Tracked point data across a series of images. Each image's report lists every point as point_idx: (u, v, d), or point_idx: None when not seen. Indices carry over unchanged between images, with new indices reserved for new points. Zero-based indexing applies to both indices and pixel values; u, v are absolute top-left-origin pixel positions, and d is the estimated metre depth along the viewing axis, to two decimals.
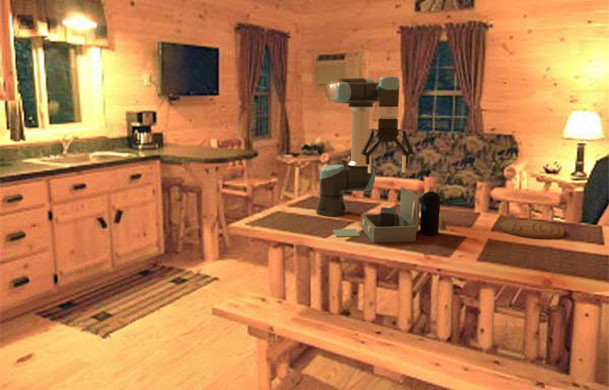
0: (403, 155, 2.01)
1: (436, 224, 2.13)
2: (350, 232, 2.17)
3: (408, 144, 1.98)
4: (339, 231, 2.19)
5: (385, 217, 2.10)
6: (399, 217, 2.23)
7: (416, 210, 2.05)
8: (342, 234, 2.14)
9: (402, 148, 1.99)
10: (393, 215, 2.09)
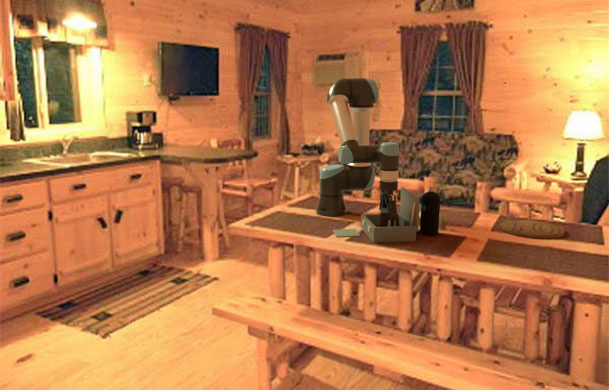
0: None
1: (436, 224, 2.13)
2: (350, 232, 2.17)
3: (390, 209, 2.06)
4: (339, 231, 2.19)
5: (385, 217, 2.10)
6: (399, 217, 2.23)
7: (416, 210, 2.05)
8: (342, 234, 2.14)
9: (388, 211, 2.09)
10: None
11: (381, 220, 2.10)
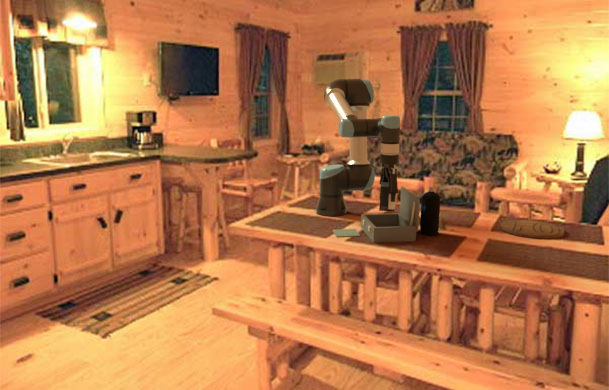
0: None
1: (436, 224, 2.13)
2: (350, 232, 2.17)
3: (391, 182, 2.04)
4: (339, 231, 2.19)
5: (386, 191, 2.08)
6: (399, 217, 2.23)
7: (416, 210, 2.05)
8: (342, 234, 2.14)
9: (389, 185, 2.07)
10: None
11: (382, 194, 2.08)
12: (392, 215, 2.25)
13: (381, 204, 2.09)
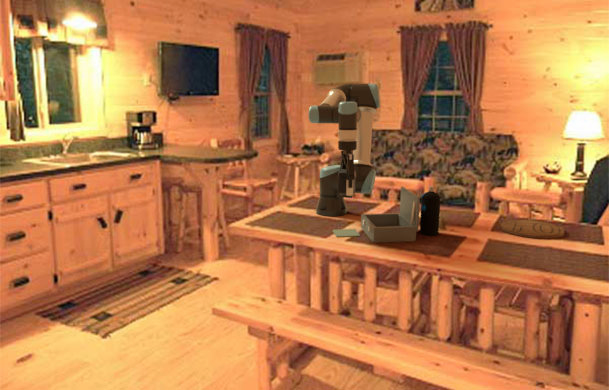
0: None
1: (436, 224, 2.13)
2: (350, 232, 2.17)
3: (347, 168, 2.04)
4: (339, 231, 2.19)
5: (344, 177, 2.07)
6: (399, 217, 2.23)
7: (416, 210, 2.05)
8: (342, 234, 2.14)
9: (346, 171, 2.06)
10: None
11: (339, 180, 2.08)
12: (392, 215, 2.25)
13: (339, 190, 2.09)
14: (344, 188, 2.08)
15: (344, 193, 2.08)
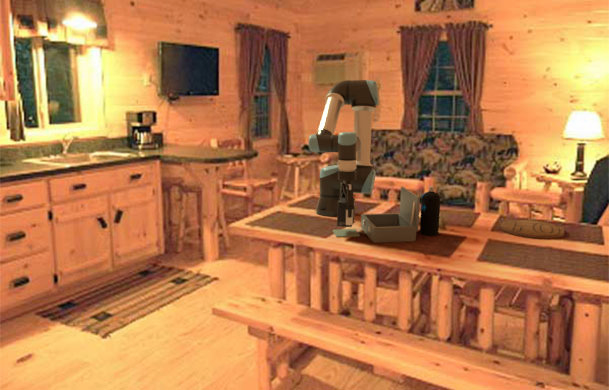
0: (351, 209, 2.09)
1: (436, 224, 2.13)
2: (350, 232, 2.17)
3: (347, 198, 2.06)
4: (339, 231, 2.19)
5: (343, 207, 2.10)
6: (399, 217, 2.23)
7: (416, 210, 2.05)
8: (342, 234, 2.14)
9: (346, 201, 2.09)
10: None
11: (339, 210, 2.10)
12: (392, 215, 2.25)
13: (339, 220, 2.11)
14: (343, 217, 2.10)
15: (343, 222, 2.11)
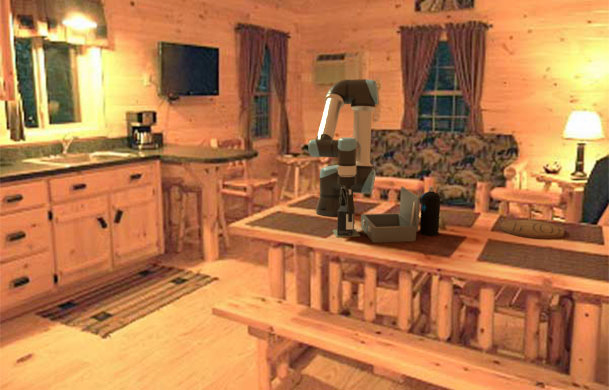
0: (351, 213, 2.09)
1: (436, 224, 2.13)
2: None
3: (347, 203, 2.06)
4: None
5: (343, 216, 2.11)
6: (399, 217, 2.23)
7: (416, 210, 2.05)
8: None
9: (346, 206, 2.09)
10: None
11: (339, 218, 2.11)
12: (392, 215, 2.25)
13: (339, 228, 2.12)
14: (344, 226, 2.12)
15: (344, 231, 2.12)
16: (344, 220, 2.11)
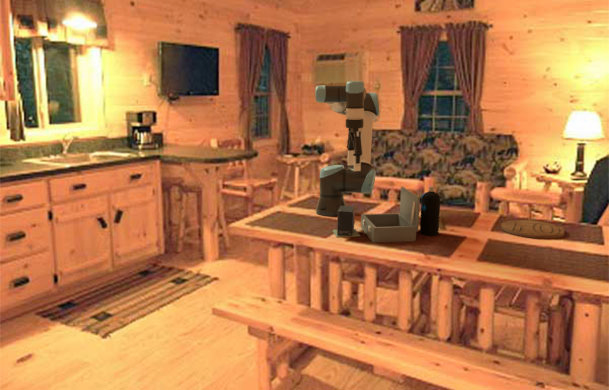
0: None
1: (436, 224, 2.13)
2: None
3: (355, 145, 2.11)
4: None
5: (343, 216, 2.11)
6: (399, 217, 2.23)
7: (416, 210, 2.05)
8: None
9: (354, 148, 2.13)
10: (351, 213, 2.10)
11: (339, 218, 2.11)
12: (392, 215, 2.25)
13: (339, 228, 2.12)
14: (344, 226, 2.12)
15: (344, 231, 2.12)
16: (344, 220, 2.11)
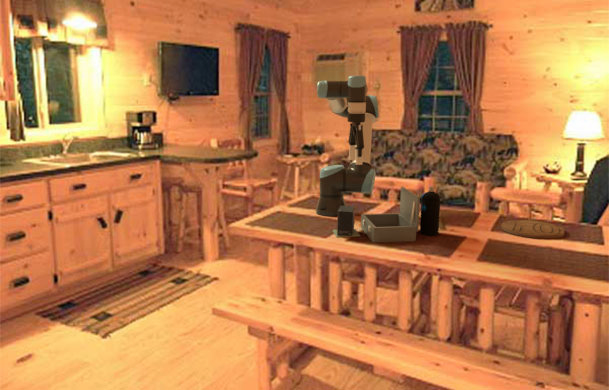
0: None
1: (436, 224, 2.13)
2: None
3: (357, 138, 2.12)
4: None
5: (343, 216, 2.11)
6: (399, 217, 2.23)
7: (416, 210, 2.05)
8: None
9: (356, 141, 2.15)
10: (351, 213, 2.10)
11: (339, 218, 2.11)
12: (392, 215, 2.25)
13: (339, 228, 2.12)
14: (344, 226, 2.12)
15: (344, 231, 2.12)
16: (344, 220, 2.11)
